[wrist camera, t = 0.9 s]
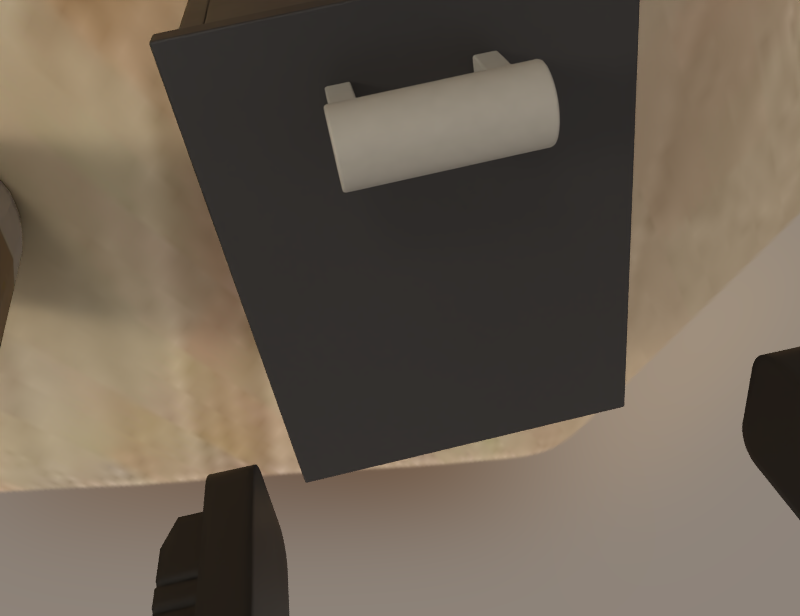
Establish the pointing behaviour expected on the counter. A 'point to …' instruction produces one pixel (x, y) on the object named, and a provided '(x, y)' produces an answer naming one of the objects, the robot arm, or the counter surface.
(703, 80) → the counter surface
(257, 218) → the charcoal box lid
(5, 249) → the coffee cup
